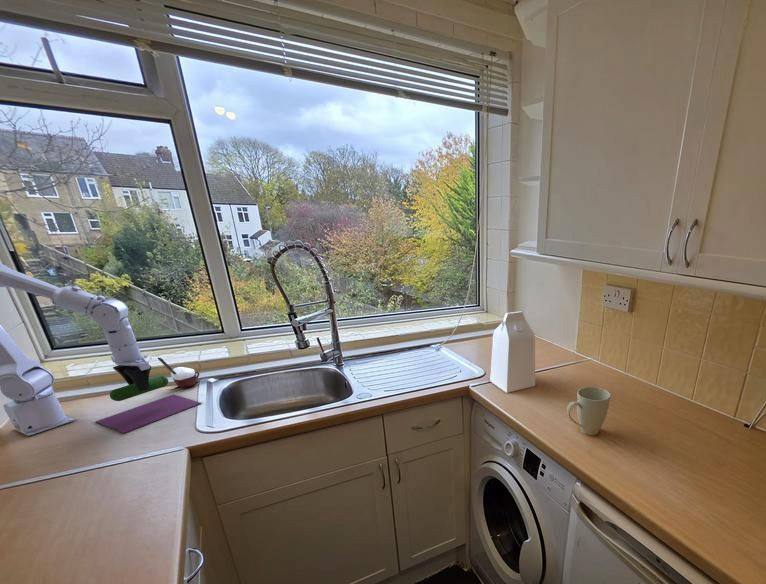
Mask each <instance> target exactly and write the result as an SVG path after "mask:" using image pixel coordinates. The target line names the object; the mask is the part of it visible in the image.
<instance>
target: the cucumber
mask: <svg viewBox="0 0 766 584" xmlns="http://www.w3.org/2000/svg"><path fill="white" fill-rule="evenodd" d="M168 384H169V379H168V378H167V377H166V376H165V375H156V376H154V377H149V389H147V390H144V391H140V390H139V389H138V388H137V387H136V385H135V383H134V384H131V385H129V384H127V385H125V386H122V387H118V388H115V389H112V390H111V391H110V392H109V398H110V399H111V400H112V401H116V402H122V401H125V400H128V399H131V398H135V397H137V396H140V395H143V394H146V393H149V392H153V391H156V390H158V389H161V388H165V387H166V386H167V385H168Z"/></svg>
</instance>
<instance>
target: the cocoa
mask: <svg viewBox="0 0 766 584" xmlns="http://www.w3.org/2000/svg"><path fill="white" fill-rule="evenodd" d="M157 360H158V361H159V362H160V363H161V364H162V365H163V366H164V367H165V368H166V369H167V370H168V371H169V372H170V375H171V378H172V380H173V381H174V383H175V384H176V386H178V387H179V388H184V389H185V388H186V389H187V388H191V387H193V386H195V384H196V383H197V382H198V379H199V377H200V372H199V371H195V369H194V368H189V367H185V366H178V367H174V368H172V367H171V366H170V365H169V364H168V363H167V362H166V361H165V360H164V359H163V358H162V357H157Z"/></svg>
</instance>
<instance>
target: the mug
mask: <svg viewBox="0 0 766 584" xmlns="http://www.w3.org/2000/svg"><path fill="white" fill-rule="evenodd" d="M576 394H577V395H576V398H577V399H576V401H571V402H569V403H568V405H567V407H566V414H567V417H568V419H569V420H570V421H571V422H573V424H575V425H577V426H578V427H579V428H580V431H581V433H582V434H584V435H586V436H596V435H598V433H599V432H600V430H601V428H602V426H603V424H604V422H605V420H606V418H607V414H608V411H609V405H610V400H611V392H609V391H608V390H606V389H604V388H601V387H597V386H583V387H580V388H579V389H577V393H576ZM575 405H576V413H577V419H578V422H577V421H576V420H574V419H573V418H572V416H571V411H572V408H573V406H575Z"/></svg>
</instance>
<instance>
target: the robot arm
mask: <svg viewBox="0 0 766 584" xmlns="http://www.w3.org/2000/svg"><path fill="white" fill-rule="evenodd" d="M6 287H7V288H11V289H15V290H18V291H23V292H25V293H29V294H32V295H36V296H40V297H42V298H47V299H50V300H53V302H54V303H55V304H56V305H57V306H58V307H59V308H62V309H66V310H69V311H72V312H76V313H79V314H81V315H84V316H88V317H90V318H92V319H93V321H94V322H96V323H98V324H99V325H100V327H101V329H102V331H103V335H104V337H105V339H106V342H107V345H108V346H109V349H110V351H111V354H112V355H110V359H111V361H112V363H114V364H115V366H112V369H113V370H114V371H116V372H117V373H118V374H119V375H120V376H121V377H122V378H123V379H124V381H125V382H126V383H127V385H131V384H134V383H135V385H136V387H137V388H138V389H139V390H140V391H144V390H147V389H149V379H150V372H151V370H152V365H150V363H149V361H147V360H146V359H147V358H148V355H147V354H144V353H143V354H142V353H141V350H140V347H139V344H138V342H137V339H136V336H135V334H134V331H133V328H132V326H131V323H130V320H129V318H128V316H129V313H130V309H129V307H128V305H127V304H126V303H125V302H124V301H123V300H120V299H118V298H116V297H110V298H109V297H108V298H105V296H104V295H100V294H99V295H96V294H93V293H91V292H88V291H85V290H82V287H81V286H77V285H74V286H70V285H67V286H62V287H59V286H56V285H53V284H51V283H49V282H46V281H43V280H41V279H38V278H35V277H33V276H31V275H29V274H26V273H23V272H20V271H17V270H16V269H12V268H10V267H9V266H7V265H5V264H2V263H0V288H6ZM55 381H56V378H55V375H54V374H53V373H52V371H50V370H48V369H47V368H45V367H43V366H42V365H41V364H40V362H39V361H37V360H33V359H30V358H28V357H27V356H26V355H25V354H24V352H23V351H22V350H21V348H20V347H19V345H17V344H16V342H15V341H14V339H13V338H12V337H11V336H10V335H9V333H8V331H6V330H5V328H4V327H3V326H2V325H1V324H0V393H2V394H3V396H4V397H6V398H8V399H10V400H12V401H9V402H6V403H4V404H3V408H4V411H5V413H6V415H7V416H8V418H9V420H10V422H11V424H12V425H13V428H14V430H15V431H17V432H19V433H21V434H23V435H25V436H27V437H29V436H34V435H36V434H39V433H43V432H45V431H48V430H51V429H54V428H57V427H60V426H63V425H66V424H69V423H72V422H74V421H75V419H74V418H73V417H70V416H68V415H66V414H65V412H64V409H63V407H62V405H61V403H60V401H59V399H58V397H57V395H56V393H55V391H54V387H53V385H54V383H55Z"/></svg>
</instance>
